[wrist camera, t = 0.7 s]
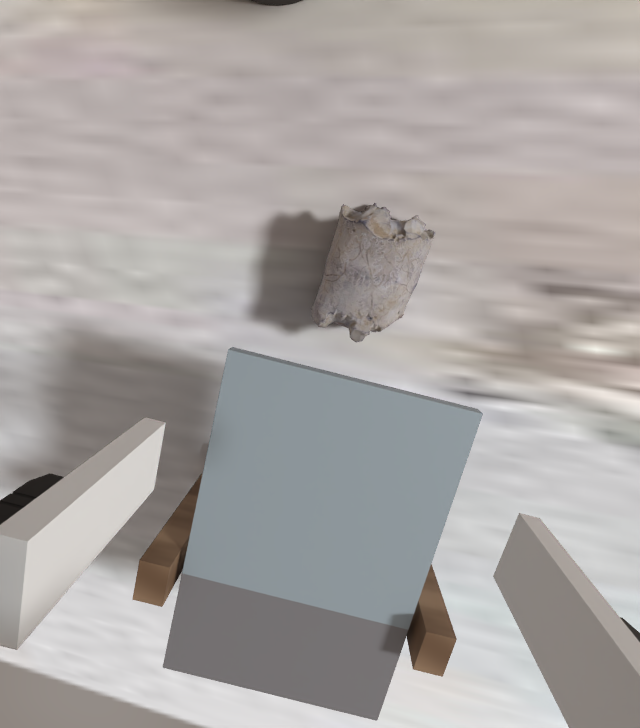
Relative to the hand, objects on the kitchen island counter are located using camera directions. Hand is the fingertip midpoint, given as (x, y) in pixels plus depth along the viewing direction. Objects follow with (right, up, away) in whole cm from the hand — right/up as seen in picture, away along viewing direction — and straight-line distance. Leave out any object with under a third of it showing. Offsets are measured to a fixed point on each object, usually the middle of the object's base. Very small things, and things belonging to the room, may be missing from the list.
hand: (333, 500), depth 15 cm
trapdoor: (-1, -7, +16) cm, 18 cm away
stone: (+4, +14, +24) cm, 28 cm away
